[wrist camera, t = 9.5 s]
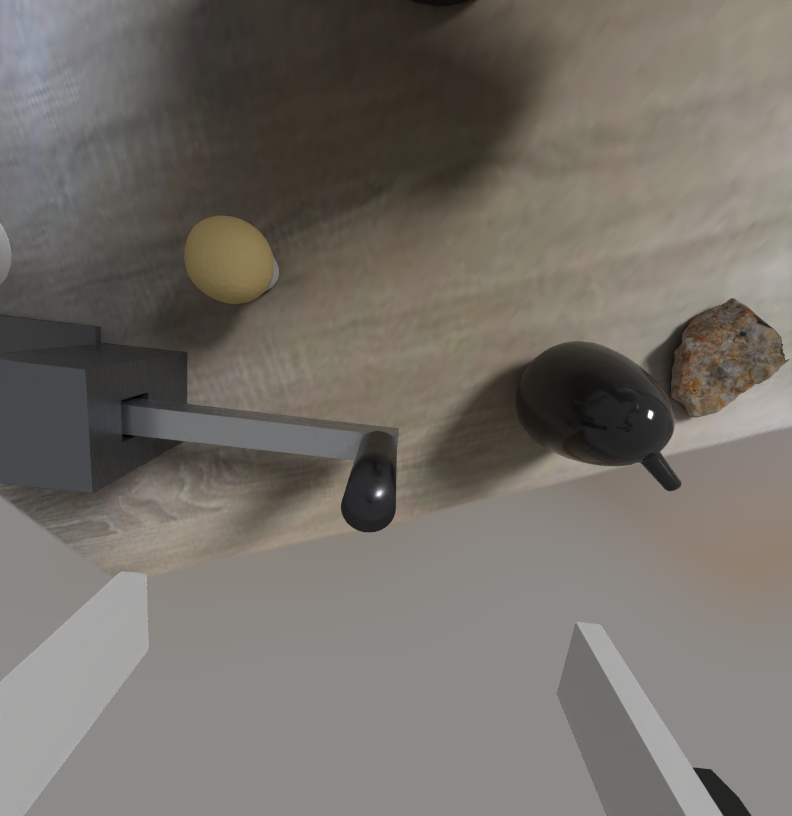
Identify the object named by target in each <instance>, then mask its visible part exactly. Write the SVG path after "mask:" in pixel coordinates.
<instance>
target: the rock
mask: <svg viewBox="0 0 792 816" xmlns="http://www.w3.org/2000/svg"><path fill="white" fill-rule="evenodd" d="M782 346H783V344H782V340H781V337H780V335H779V334H778V333H777V332H776V331H775V330H774V329H773V328H772V327H770V326H769V325H768V324H767V323H765V322H764V321H763V320H762V319H760V318H759V317H758V316H757V315H755V314H754V312H753V311H752V310H751V309H749V308H748V307H747V306H745V305H744V304H742V303H740V302H739V301H737V300H736V299H734V298H732V299H730V300H728V301H727V302H726V303H724V304H722V305H719V306H716V307H714V308H712V309H711V310H708V311H706V312H704V313H701V314H699V315H697V316H695V317H694V318H693V319H692V320H691V322H690V323H689V324H688V326H687V328H686V329H685V330H684V332H683V334H682V344H681V345H680V346H679V347H678V348H677V349H676V351H675V352H674V354H675V362H674V364H673V367H672V381H671V396H672V398H674V399H675V400H676V401H678V402H680V403H681V404H682V405H684V407H685V409H686V411H687V413H688V415H689V416H691V417H701V416H706V415H709V414H713V413H716V412H718V411H720V410H721V409H722V408H724V407H725V406H727V405H728V404H729V403H730V402H732V401H734V400H735V399H736V398H737V396H738V395H740V394H741V393H744V392H745V391H746V390H748V389H749V388H751V387H752V386H753V385H754V384H759V383H761V382H763V381H765V380H767V379H769V378H770V377H771V376H772V375H773V374H774V373H775V372H776V371H778V370H779V368H780V367H781V366H783V365H784V364H785V363H786V362H787V361H788V360H789V359H788V360H785V357H784V356H785V355H784V353H783V349H782Z"/></svg>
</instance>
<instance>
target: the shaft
mask: <svg viewBox="0 0 792 816" xmlns="http://www.w3.org/2000/svg"><path fill="white" fill-rule="evenodd" d="M121 420H122V434H126V435H135V436H144V437H153V438H161V439H170V440H179V441H188V442H197V443H205V444H214V445H223V446H232V447H240V448H249V449H258V450H267V451H275V452H284V453H293V454H302V455H311V456H319V457H328V458H337V459H346V460H354V464H353V467H352V471H351V474H350V477H349V480H348V483H347V486H346V490H345V493H344V496H343V499H342V503H341V511H342V515H343V517H344V519H345V520H346V522H347V523H348V524H349V525H350V526H351V527H353V528H354V529H356V530H359V531H362V532H376V531H379V530H381V529H383V528H385V527H386V526H387V525H389V523H390V522H391V521H392V519H393V517H394V515H395V510H396V467H397V445H398V437H399V428H391V427H382V426H373V425H365V424H356V423H348V422H339V421H330V420H322V419H313V418H304V417H296V416H287V415H278V414H270V413H261V412H252V411H244V410H235V409H227V408H218V407H209V406H201V405H192V404H183V403H175V402H166V401H157V400H149V399H140V398H131V397H130V398H127V399H123V400H121Z"/></svg>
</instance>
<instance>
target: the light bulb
mask: <svg viewBox="0 0 792 816" xmlns="http://www.w3.org/2000/svg"><path fill="white" fill-rule="evenodd" d="M184 259H185V266H186V270H187V273H188V275H189V277H190V279H191V280H192V282H193V283H194V284H195V285H196V286H197V287H198V289H200V290H201V291H202V292H203V293H204V294H206V295H207V296H209V297H211V298H213V299H215V300H217V301H221V302H224V303H228V304H242V303H248V302H250V301H253V300H255V299H256V298H258V297H259V296H260V295H262V294H263V293H264V292H265V291H267V290H269V289H271V288H272V287H273V286H274V285H275V283H276V282H277V280H278V276H279V268H278V264H277V262H276V260H275V259H274V257H273V254H272V251H271V248H270V246H269V244H268V242H267V240H266V239H265V237H264V236H263V235H262V234H261V232H260V231H258V230H257V229H256V228H255V227H254V226H253V225H251V224H249V223H248V222H246V221H244V220H241V219H238V218H235V217H231V216H213V217H209V218H206V219H203V220H202V221H200V222H198V223H197V224H196V225H195V226H194V227H193V228H192V230H191V232H190V233H189V235H188V238H187V241H186V245H185V250H184Z"/></svg>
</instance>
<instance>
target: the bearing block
mask: <svg viewBox="0 0 792 816" xmlns="http://www.w3.org/2000/svg"><path fill="white" fill-rule="evenodd" d="M130 397H131V398H140V399H149V400H157V401H166V402H175V403H183V404H187V353H185V352H177V351H168V350H160V349H151V348H143V347H134V346H126V345H117V344H109V343H101V344H90V345H79V346H67V347H56V348H45V349H33V350H22V351H10V352H0V483H3V484H12V485H21V486H30V487H39V488H48V489H57V490H66V491H75V492H84V493H94V492H96V491H98V490H99V489H101V488H103V487H105V486H106V485H108V484H110V483H112V482H113V481H115V480H117V479H119V478H120V477H122V476H124V475H126V474H127V473H129V472H131V471H133V470H134V469H136V468H138V467H140V466H141V465H143V464H145V463H147V462H148V461H150V460H152V459H153V458H155V457H157V456H159V455H160V454H162V453H164V452H166V451H167V450H169V449H171V448H173V447H174V446H176V445H178V444H180V443H181V442H183V441H179V440H170V439H161V438H153V437H144V436H135V435H126V434H122V420H121V400H123V399H127V398H130Z"/></svg>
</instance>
